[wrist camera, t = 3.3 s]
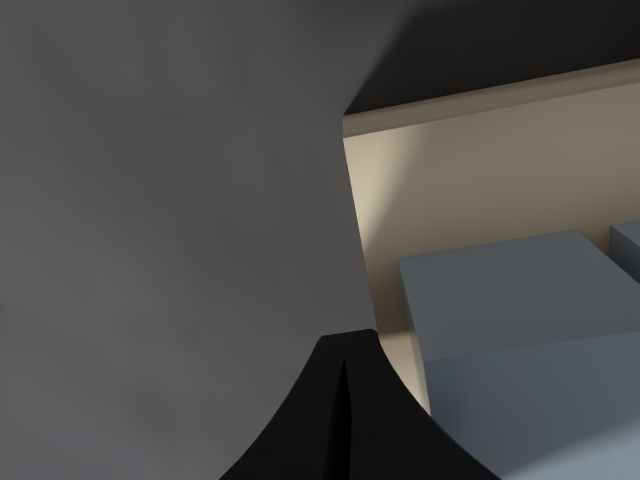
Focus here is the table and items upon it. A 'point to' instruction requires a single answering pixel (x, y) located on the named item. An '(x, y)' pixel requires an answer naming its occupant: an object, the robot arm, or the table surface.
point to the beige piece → (490, 175)
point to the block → (626, 247)
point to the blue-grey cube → (530, 355)
